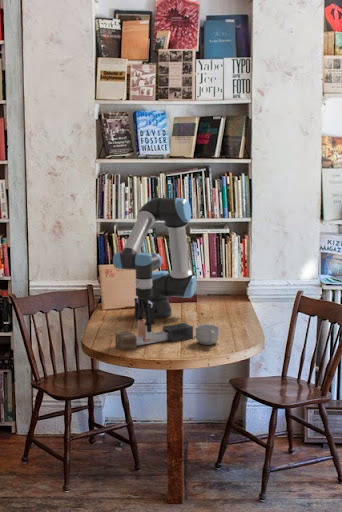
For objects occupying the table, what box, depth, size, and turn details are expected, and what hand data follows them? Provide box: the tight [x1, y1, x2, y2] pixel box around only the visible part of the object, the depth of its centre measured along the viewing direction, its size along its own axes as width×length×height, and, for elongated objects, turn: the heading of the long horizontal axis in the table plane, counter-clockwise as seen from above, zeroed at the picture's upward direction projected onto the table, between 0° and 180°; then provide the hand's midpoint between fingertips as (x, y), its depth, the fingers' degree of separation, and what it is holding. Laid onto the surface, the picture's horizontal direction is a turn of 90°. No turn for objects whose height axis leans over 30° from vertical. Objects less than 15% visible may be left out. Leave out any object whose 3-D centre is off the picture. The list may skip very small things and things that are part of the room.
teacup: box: [195, 323, 220, 346], centre depth 337 cm, size 14×11×8 cm
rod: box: [136, 318, 170, 347], centre depth 342 cm, size 6×28×11 cm, turn 123°
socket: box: [114, 330, 137, 352], centre depth 333 cm, size 8×6×6 cm
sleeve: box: [161, 322, 194, 343], centre depth 348 cm, size 8×12×6 cm, turn 123°
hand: (144, 336), depth 338 cm, fingers closed on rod, 6 cm apart
